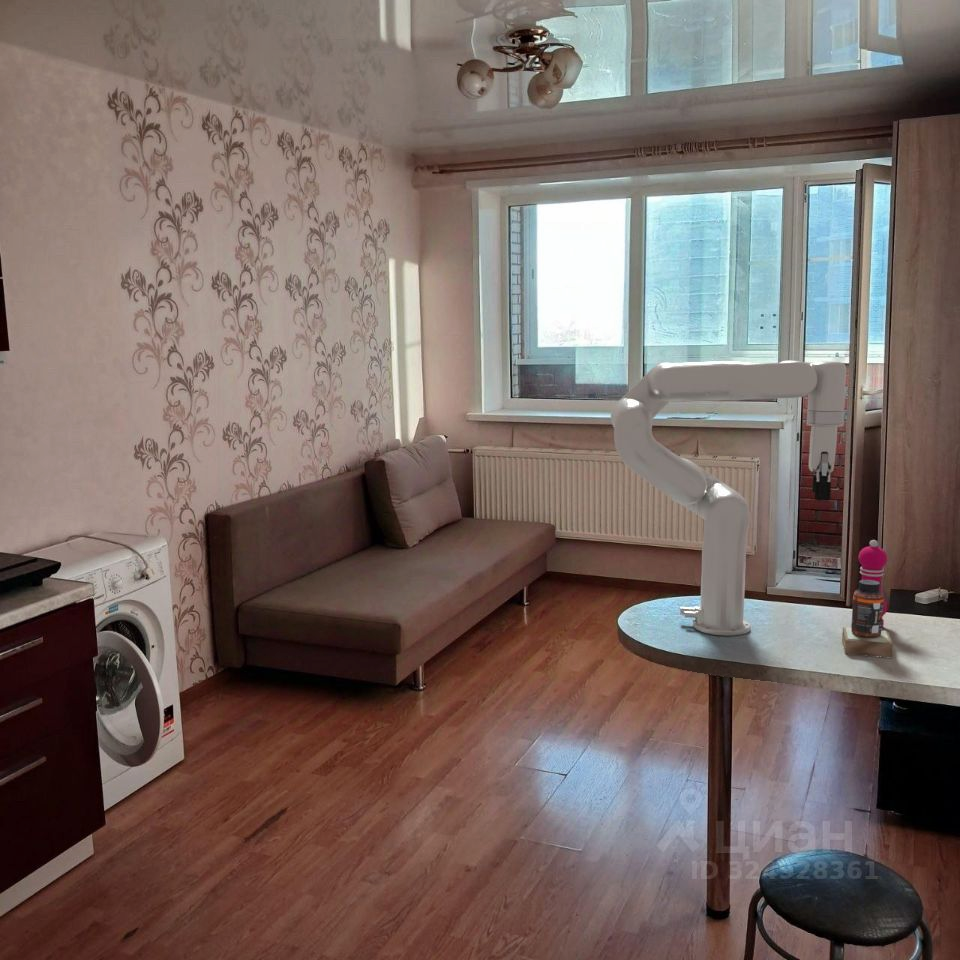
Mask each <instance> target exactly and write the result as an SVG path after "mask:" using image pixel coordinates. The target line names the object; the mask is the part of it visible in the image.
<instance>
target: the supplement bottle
mask: <svg viewBox="0 0 960 960" xmlns="http://www.w3.org/2000/svg"><path fill="white" fill-rule="evenodd" d="M858 587H859V588H858V589H857V590H854V592H853V596H852V609H851V610H852V611H851V612H852V613H851V627H850V628H851V631H852V633H854V634H855V635H857V636H862V637H871V638H874V637H878V636H880V635H881V631H882V629H883V628H882V619H883V617H884V615H883V603H884V598H885V596H884V593H883V592H882V593H883V594H882V593H881V592H880V590H879V589H880V583H879V582H877V581H873V580H862V579H861V580H859V581H858Z"/></svg>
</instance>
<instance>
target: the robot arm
mask: <svg viewBox="0 0 960 960" xmlns="http://www.w3.org/2000/svg"><path fill="white" fill-rule="evenodd" d="M846 382H847V367H846V364H845V363H844V362H840V361H814V362H807V361H801V360H789V359H788V360H783V361H781V362H771V363H770V362H769V363H768V362H767V363H764V362H763V363H761V362H759V363H758V362H757V363H754V362H753V363H751V362H740V361H732V360H729V361H728V360H721V361H719V360H717V361H704V362H703V361H701V362H696V361H695V362H673V363H672V362H661V363H658V364H655V365H654V366H653V367H652V368H651V369H650V370H649V371H648V372H646V374H645V375H644V376H643V377H642V378H641V379H640V380H639V381H638V382H637V383H636V384H635V385H633V387H632V388H631V389H629V390H628V392H627V393H625V394H624V395H623V396H622V397H621V398H619V400H618V401H617V402H616V403H615V404H614V406H613V408H612V409H611V413H610V422H611V426H612V428H613V440H614V446H615V450H616V452H617V455H618V457H619V458H620V460H621V461H622V462H623V464H624V465H625V466H626V467H627V468H628V469H629V470H630V471H631V472H633V473H634V474H636V475H637V476H639V477H640V478H642V479H643V480H644V481H646V482H647V483H648V484H650V485H651V486H652V487H654V488H656V490H658V491H661V492H662V493H663V494H664V495H665V496H666V497H667V498H668V499H670V500H671V501H673V502H674V503H677V504H679V505H681V506H684V507H685V508H686V509H688V510H689V511H691V512H692V513H694V514H696V515H697V516H699V517H700V518H701V519H703V520H704V529H703V537H702V547H701V548H702V549H701V574H700V575H701V581H700V583H701V584H700V603H699V605H698V606H694V607H688V606H680V607H679V615H680V616H684V618H693V620H692V627H693V628H694V629H695V630H697V631H699V632H701V633H705V634H708V635H713V636H728V637H729V636H730V637H731V636H732V637H733V636H739V635H744V634H747V633H749V632H750V631H751V624H750V622H748V621H747V620H745V619H744V617H745V616H744V614H745V593H746V591H745V590H746V589H745V588H746V569H747V568H746V566H747V561H746V559H747V545H748V543H747V542H748V537H749V536H748V535H749V529H750V522H751V511H750V507H749V504H748V502H747V500H746V499H745V498H744V497H743V495H742V494H740V493H739V492H738V491H736V490H735V489H734V488H732V487H731V486H729V485H728V484H726V483H725V482H723V481H722V480H720V479H719V478H718V477H715V476H714V475H713V474H711V473H710V472H708V471H707V470H705V469H703V468H702V467H701V466H699V465H698V464H696V463H695V462H693V461H692V460H689V459H687V458H685V457H680V456H679V455H677V454H676V453H674V452H673V451H671V450H670V449H668V448H667V447H665V446H664V445H663V444H661V443H660V442H659V441H657V440H656V438H655V437H654V435H653V431H652V429H653V422H654V421H653V420H654V418H656V416H657V415H658V414H659V413H660V412H662V410H664V408H666V407H667V406H668V405H669V403H688V402H690V403H691V402H709V401H710V402H712V401H713V402H714V401H715V402H716V401H717V402H718V401H721V402H722V401H741V400H766V399H767V400H769V399H771V400H773V399H792V398H793V399H795V398H796V399H797V398H803V397H805V396H807V412H806V414H807V415H806V426H810V427H811V429H810V437H809V452H808V453H809V455H808V469H809V471H811V472H814V474H813V475H812V493H813V494H814V498H813V499H814V500H815V501H828V502H829V501H830V500H831V491H832V490H831V487H832V481H831V473H832V472H833V471H834V468H835V460H836V454H837V453H836V451H837V437H838V427H839V428H840V427H841V428H842V427H844V417H845V415H844V414H845V403H846V400H845V399H846V398H845V397H846Z"/></svg>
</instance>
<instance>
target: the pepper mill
mask: <svg viewBox="0 0 960 960" xmlns="http://www.w3.org/2000/svg"><path fill="white" fill-rule="evenodd" d="M858 553H859V554H858V557H857V558H858V561H859V564H860V565H861V566H860V568H859V569H860V571H859V573H860V574H861V580H873V581H877V582H879V583H880V589H879V590H880V592H881V593H882V594H883V595H884V593H883V590H882V585H881V584H882V577H883V576H884V575H885V573H884V571H885V569H884V566H886V564H887V563H888V556H887V555H888V554H887V553H886V551H885V550H884V549H883V548H881V547H879V542H878V541H877V540H875V539H872V540H870V541H869V546H865V547H864V548H862V549H861V550H860V551H859V552H858ZM887 610H888V605H887V602H886V599H885V597H884V603H883V616H885V614H887ZM884 623H885V621H884V619H883V618H882V629H884Z"/></svg>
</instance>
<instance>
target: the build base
mask: <svg viewBox="0 0 960 960" xmlns="http://www.w3.org/2000/svg"><path fill="white" fill-rule="evenodd" d="M841 633H842V635H841V642H842V643H841V644H842V645H843V646H842V647H844V648H843V650H844V655H850V654H851V655H852V656H853V655H854V656H861V655H867V656H866V657H872V656H879V657H878V658H884V657H892V658H893V645H894V644H893V642H892V639H891V636H890V633H889V631H888V630H882V631H881V635H880V636H878V637H874V638H871V637H862V636H857V635H855V634H854V633H852V631H851V627H842V632H841ZM880 656H881V657H880Z"/></svg>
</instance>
